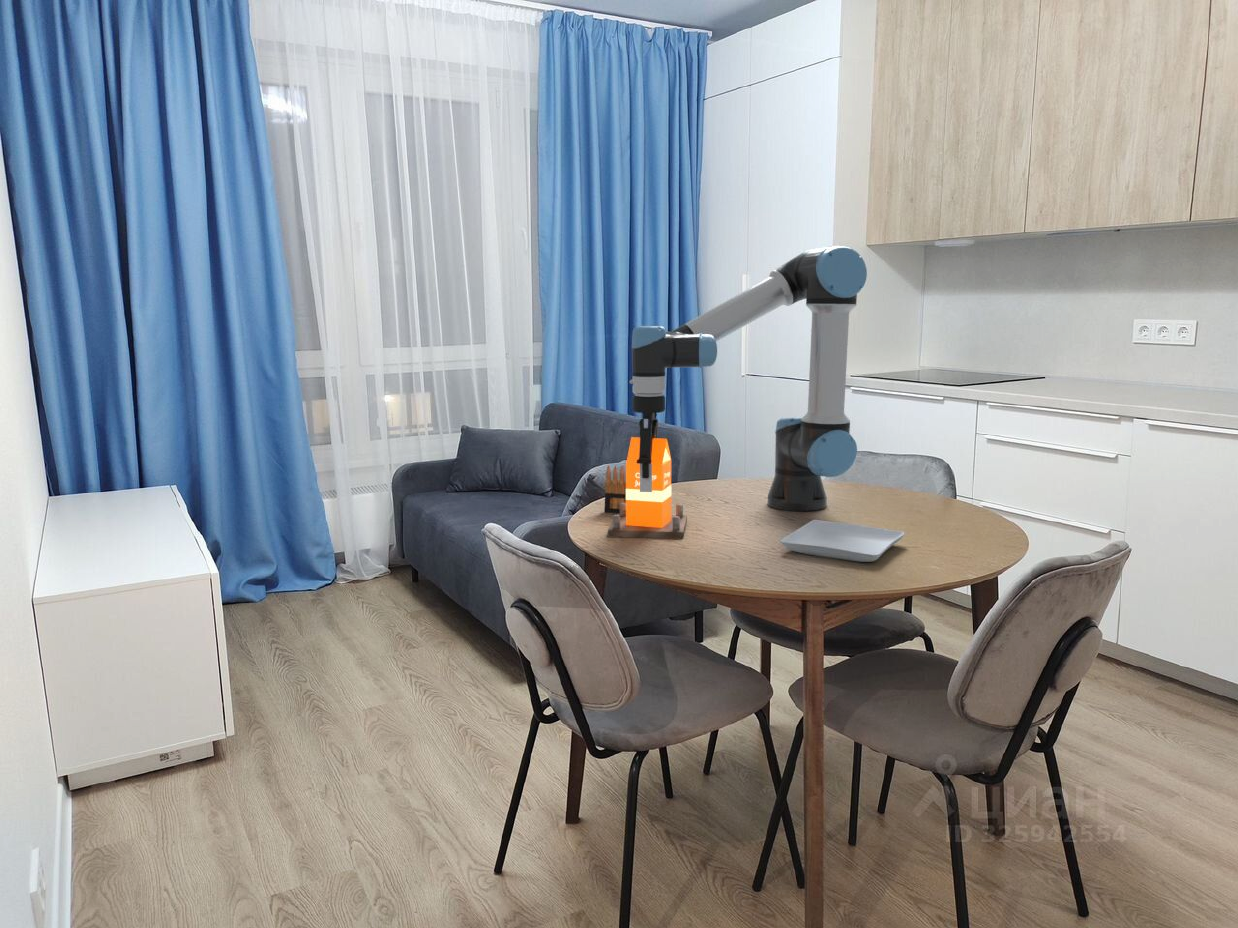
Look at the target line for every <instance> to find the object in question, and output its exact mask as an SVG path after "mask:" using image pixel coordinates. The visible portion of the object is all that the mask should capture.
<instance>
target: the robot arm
mask: <svg viewBox="0 0 1238 928" xmlns="http://www.w3.org/2000/svg"><path fill="white" fill-rule="evenodd" d="M867 277H868V270H867V265H866V263H865V260H864V259H863V257H862V256H861V255H860V254H859V252H858V251H856V250H855V249H853V248H852V247H848V246H841V245H834V246H833V245H831V246H827V247H826V246H825V247H821V248H819V247H818V248H812V249H808V250H806V251H803V252H801V253H800V254H798V255H797V256H795V257H793V258H791V259H790V260H789V261H787V262H785V263H783V264H782V265H780V266H778V267H777V268H775V269H773V270H772V271H770V273H769V276H768V277H767V278H765V279H764V280H762V281H760V282H758V283H756V284H754V285H753V286H751V287H749V288H747V289H745V290H744V291H742V292H740V293H738V294H736V295H734V296H733V297H731V298H729V299H727V300H725V301H723V302H722V303H720V304H718V305H716V306H714V307H713V308H711V309H709V310H708V311H706V312H703V313H702V314H700V315H698V316H697V317H695V318H693V319H691V320H690V321H688V322H686V323H684V324H683V325H680V326H678V327H677V328H675V329H673V330H670V331H666V329H665V326H661V325H653V326H652V325H649V326H648V325H640V326H636V327H634V329H633V330H632V335H631V337H632V338H631V347H630V348H631V362H632V364H631V365H632V374H631V376H632V379H630V380H629V384H630V385H632V393H633V394H634V395H633V396H632V397H631V399H632V400H631V401H632V402H631V403H632V405H631V409H632V412H633V413H637V414H638V413H640V414H642V418H640V420H639V424H638V425H639V426H638V427H639V438H640V451H639V460H637V464H640V492H652V463H651V462H652V460H651V457H652V442H653V439H654V438H658V424H659V419H657V417H658V414H659V413H663V412H664V411H665V410H666V396H665V395H664V393H666V369H667V368H668V369H669V368H670V369H672V368H700V369H701V368H704V367H712V366H713V365H714V364H715V363H716V361H717V358H718V357H717V356H718V344H717V342H718V341H720V340H722V339H724V338H726V337H727V336H729V335H731V334H733V333H734V332H736V331H738V330H740V329H741V328H744V327H745V326H747V325H749V324H751V323H752V322H754V321H757V320H758V319H759V318H761V317H763V316H765V315H767V314H768V313H770V312H772V311H774V310H776V309H778V308H779V307H781V306H787V307H790V306H791V305H794V304H795V303H798V302H800V301H802V300H806V301H805V306H806V307H807V308H808V309H809V310H810V311H811V330H810V332H811V334H810V353H809V356H810V357H809V372H808V373H809V375H808V376H809V378H808V396H807V400H808V401H807V412H806V414H805V415H803V416H802V417H801V416H800V417H782V418H779V419H778V420H777V421H776V424H775V425H776V426H775V452H774V453H775V457H774V458H775V460H774V461H775V463H774V465H775V467H774V477H773V480H772V483H771V486H770V488H769V490H768V493H767V494H768V495H767V505H768V506H769V507H771V508H773V509H778V510H782V511H783V510H784V511H791V512H792V511H796V512H803V511H804V512H805V511H806V512H807V511H809V512H810V511H817V510H823V509H825V508H826V507H827V504H828V503H827V501H828V498H827V494H826V490H825V487H824V483H823V479H822V477H827V478H836V477H839V476H842V475H843V474H845V473H847V471H848V470H849V469H851V467H852V466H853V465H854V463H855V461H856V459H857V454H858V446H857V442H856V440H855V439H854V437H853V436H852V435H851V434H850V431H851V420H850V418H849V417H848V416H847V415H846V414H845V403H846V402H845V400H846V384H847V383H846V378H847V366H848V365H847V362H848V361H847V360H848V345H849V344H848V342H849V325H850V324H849V320H850V313H851V312H852V310H853V309H854V308H856V306H857V301H858V300H857V297H858V293H860V292H861V290H862V289H863V288H864V287H865V284H866V281H867Z"/></svg>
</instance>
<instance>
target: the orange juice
mask: <svg viewBox="0 0 1238 928" xmlns="http://www.w3.org/2000/svg"><path fill="white" fill-rule="evenodd" d="M639 451H640V437H636V436H635V437H633V436H631V438H630V442H629V448H628V453H627V458H626V463H625V492H626V525H633V526H646V527H659V528H662V527H664V526H665V525H666V524H667V523H668V522H670V521H671V515H672V458H671V452H670V448H669V443H668V439H667V438H658V437H657V438H654V439H653V442H652V457H651V460H652V462H651V463H652V492H640V464H637V460H639Z"/></svg>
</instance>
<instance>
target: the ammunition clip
mask: <svg viewBox="0 0 1238 928" xmlns="http://www.w3.org/2000/svg"><path fill="white" fill-rule="evenodd" d="M618 473H619V475H618ZM605 474H606V476H605V493H604V513H605V514H616V515H617V514H620V503H626V475H625V469H624V467H623V465H621V467H620V470H619V472H618V468H617V466H616V465H615V466H614V467H613V471H611V467H610V465H607V468H606V473H605Z"/></svg>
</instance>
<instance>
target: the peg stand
mask: <svg viewBox="0 0 1238 928" xmlns="http://www.w3.org/2000/svg"><path fill="white" fill-rule="evenodd" d="M683 511H684V504H681V503H678V504H676V505H675V515H672V514H671V521H670V522H668V523H667V524H666V525H665V526H664V527H662V528H659V527H646V526H633V525H626V503H620V514H617V513H616V514H614V515H612V523H611V524H610V525H609V527H608V530H607V537H608V536H615V538H619V537H618V536H622V537H621V538H643V537H648V538H647V539H649V538H650V539H651V538H652V539H655V538H656V539H684V536H685V532H686V527H687V523H688V515H684V514H683Z"/></svg>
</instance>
